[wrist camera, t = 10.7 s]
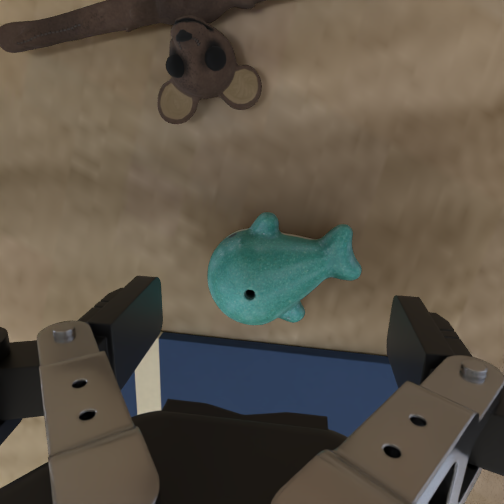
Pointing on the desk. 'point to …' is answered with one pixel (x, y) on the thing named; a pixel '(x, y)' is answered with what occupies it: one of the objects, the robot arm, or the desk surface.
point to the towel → (260, 379)
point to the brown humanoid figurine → (181, 47)
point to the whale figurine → (276, 270)
